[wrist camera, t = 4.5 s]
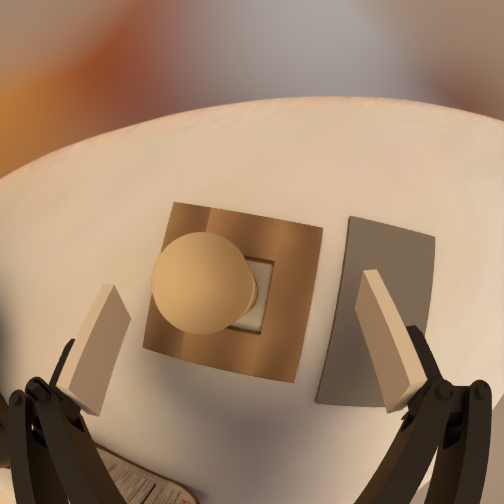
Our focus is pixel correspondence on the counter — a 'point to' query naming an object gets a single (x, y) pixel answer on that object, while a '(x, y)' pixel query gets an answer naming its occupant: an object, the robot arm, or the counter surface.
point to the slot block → (278, 302)
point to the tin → (143, 483)
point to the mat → (345, 320)
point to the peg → (203, 283)
